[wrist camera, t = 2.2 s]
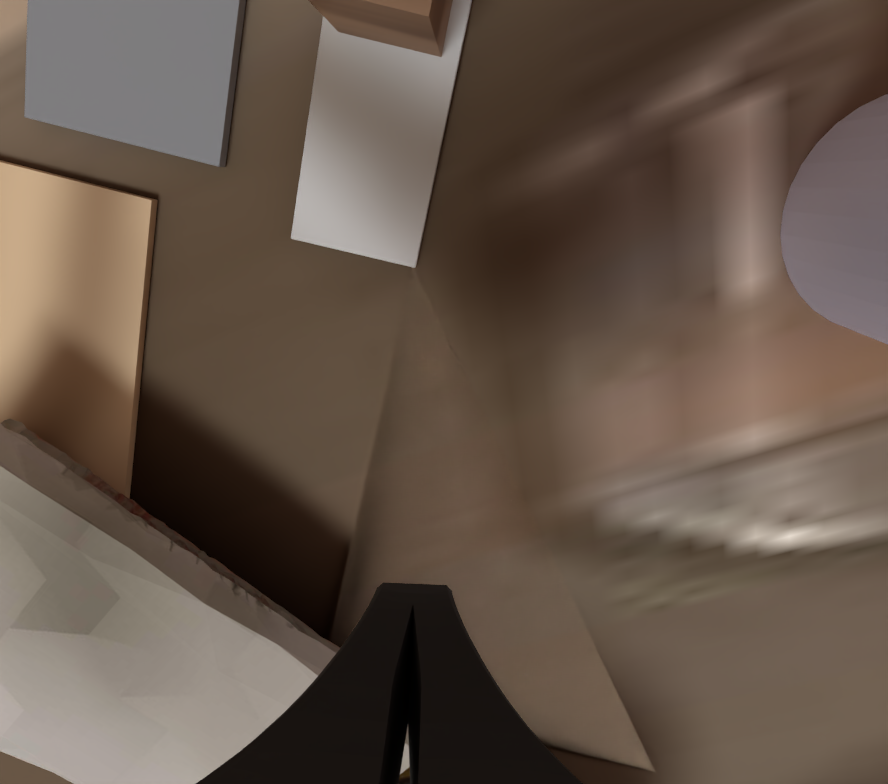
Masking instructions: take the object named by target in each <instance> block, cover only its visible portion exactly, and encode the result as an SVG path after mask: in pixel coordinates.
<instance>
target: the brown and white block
mask: <svg viewBox="0 0 888 784" xmlns="http://www.w3.org/2000/svg"><path fill="white" fill-rule="evenodd" d="M309 1H310V2H311V4H312V5H313V6H314V7H315V8H316V9H317V10H318V11H319V12H320V13H321V14H322V15H323V21H322V28H321V35H320V42H319V49H318V56H317V63H316V69H315V76H314V83H313V90H312V97H311V104H310V110H309V117H308V124H307V131H306V138H305V145H304V151H303V158H302V165H301V172H300V179H299V186H298V193H297V199H296V206H295V213H294V220H293V227H292V234H291V239H295V240H299V241H304V242H308V243H312V244H316V245H320V246H325V247H329V248H333V249H337V250H342V251H346V252H350V253H354V254H359V255H363V256H367V257H371V258H376V259H380V260H384V261H388V262H392V263H397V264H401V265H405V266H409V267H414V268H415V267H416V265H417V260H418V255H419V251H420V246H421V241H422V236H423V232H424V227H425V222H426V217H427V213H428V208H429V203H430V198H431V194H432V189H433V184H434V179H435V175H436V170H437V165H438V160H439V156H440V151H441V146H442V141H443V137H444V132H445V127H446V123H447V118H448V113H449V108H450V104H451V99H452V94H453V89H454V85H455V80H456V75H457V70H458V66H459V61H460V56H461V51H462V47H463V42H464V37H465V32H466V28H467V23H468V18H469V13H470V9H471V4H472V0H309Z"/></svg>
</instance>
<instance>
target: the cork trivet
mask: <svg viewBox="0 0 888 784" xmlns="http://www.w3.org/2000/svg"><path fill="white" fill-rule="evenodd" d="M157 202H158V200H156V199H152V198H148V197H144V196H140V195H136V194H132V193H128V192H124V191H120V190H116V189H113V188H109V187H105V186H101V185H97V184H93V183H89V182H85V181H81V180H77V179H73V178H69V177H65V176H61V175H57V174H53V173H49V172H45V171H41V170H37V169H33V168H29V167H25V166H21V165H17V164H14V163H10V162H6V161H2V160H0V423H1V422H3V421H4V420H7V419H13V420H16V421H19V422H22V423H23V424H24V425H25V427H26V428H27V429H28V430H30V431H32V432H34V433H36V434H37V435H38V436H39V437H40V438H41V439H43V440H44V441H46V442H48V443H49V444H51V445H53V446H54V447H56V448H57V449H59V450H60V451H62V452H64V453H66V454H67V455H68V456H70V457H71V458H72V459H73V460H75V461H76V462H77V463H79V464H80V465H82V466H83V467H86V468H89V469H90V470H91V471H92V473H93V474H94V475H97V476H98V477H100V478H101V479H102V480H103V481H105V482H106V483H107V484H108V485H110V486H111V487H112V488H114V489H115V490H116V491H117V492H119V493H122V494H123V495H125V496H126V497H127V498H129V499H130V489H131V479H132V468H133V458H134V447H135V436H136V426H137V415H138V404H139V394H140V383H141V372H142V362H143V351H144V340H145V330H146V319H147V308H148V298H149V287H150V277H151V266H152V255H153V245H154V234H155V223H156V213H157Z"/></svg>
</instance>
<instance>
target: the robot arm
mask: <svg viewBox="0 0 888 784" xmlns="http://www.w3.org/2000/svg"><path fill="white" fill-rule="evenodd" d="M781 245H782V256H783V260H784V263H785V266H786V269H787V273H788V276H789V278H790V280H791V281H792V283H793V285H794V287H795V288H796V290H797V292H798V294H799V295H800V296H801V297H802V298H803V299H804V300H805V302H806V303H807V304H808V305H809V306H810V307H811V308H812V309H813V310H814V311H816V312H817V313H819V314H820V315H822V316H823V317H825V318H826V319H828V320H829V321H831V322H833V323H836V324H838V325H841V326H843V327H846V328H848V329H851V330H853V331H856V332H858V333H861V334H863V335H866V336H868V337H871V338H873V339H876V340H878V341H881V342H883V343H886V344H888V94H886V95H883V96H881V97H879V98H877V99H875V100H873V101H871V102H869V103H867V104H865V105H863V106H860V107H859V108H857V109H856V110H854V111H853V112H852V113H850V114H849V115H847V116H846V117H845V118H843V119H842V120H840V121H839V122H838V123H836V124H835V125H834V126H833V127H832V128H831V129H830V130H829V131H828V132H827V133H826V134H825V135H824V136H823V137H822V138H821V139H820V140H819V141H818V142H817V144H816V145H815V146H814V148H813V149H812V150H811V152H810V153H809V154H808V156H807V157H806V159H805V160H804V161H803V163H802V164H801V166H800V168H799V170H798V172H797V174H796V176H795V178H794V180H793V182H792V184H791V186H790V189H789V192H788V196H787V199H786V202H785V206H784V209H783V215H782V225H781ZM407 727H408V738H409V765H410V784H583V783H581V782H580V781H579V780H578V779H577V778H576V777H575V776H574V775H573V774H572V773H571V772H570V771H569V770H568V769H567V768H566V767H565V766H564V765H563V764H562V763H561V762H560V761H559V760H558V759H557V758H556V757H555V756H554V755H553V754H552V753H551V752H550V751H549V750H548V749H547V748H546V747H545V746H544V744H543V743H542V742H541V741H540V740H539V739H538V737H537V736H536V735H535V734H534V733H533V732H532V730H531V729H530V728H529V727H528V726H527V724H526V723H525V722H524V721H523V719H522V718H521V717H520V716H519V714H518V713H517V712H516V710H515V709H514V708H513V706H512V705H511V704H510V702H509V701H508V700H507V698H506V697H505V695H504V694H503V692H502V691H501V689H500V688H499V686H498V685H497V683H496V682H495V680H494V679H493V677H492V676H491V674H490V672H489V671H488V669H487V667H486V666H485V664H484V662H483V661H482V659H481V657H480V655H479V653H478V652H477V650H476V648H475V646H474V644H473V642H472V640H471V639H470V637H469V635H468V633H467V631H466V628H465V626H464V624H463V622H462V620H461V617H460V615H459V612H458V610H457V607H456V605H455V602H454V598H453V595H452V591H451V590H450V589H449V588H448V586H447V585H429V584H405V583H382V584H381V585H380V586H379V587H377V590H376V592H375V594H374V596H373V598H372V600H371V602H370V604H369V606H368V607H367V609H366V611H365V612H364V614H363V616H362V617H361V619H360V620H359V622H358V624H357V625H356V627H355V628H354V629H353V631H352V632H351V634H350V635H349V637H348V638H347V640H346V641H345V642H344V644H343V645H342V647H341V648H340V649H339V651H338V652H337V653H336V655H335V656H334V657H333V658H332V659H331V661H330V662H329V663H328V664H327V666H326V667H325V668H324V669H323V671H322V672H321V673H320V674H319V676H318V677H317V678H316V679H315V680H314V681H313V683H312V684H311V685H310V686H309V687H308V688H307V689H306V690H305V691H304V692H303V694H302V695H301V696H300V697H299V698H298V699H297V700H296V701H295V702H294V703H293V704H292V705H291V706H290V707H289V708H288V709H287V710H286V711H285V712H284V713H283V714H282V715H281V716H280V717H279V718H278V719H276V720H275V721H274V722H273V723H272V724H271V725H270V726H269V727H268V728H266V729H265V730H264V731H263V732H262V733H261V734H260V735H259V736H258V737H257V738H255V739H254V740H253V741H252V742H251V743H249V744H248V745H247V746H246V747H245V748H243V749H242V750H241V751H240V752H238V753H237V754H236V755H234V756H233V757H232V758H230V759H229V760H228V761H226V762H225V763H224V764H222V765H221V766H220V767H218V768H217V769H215V770H214V771H213V772H211V773H210V774H209V775H207V776H206V777H205V778H203V779H202V780H200V781H199V782H197V783H196V784H399V778H400V771H401V765H402V759H403V752H404V746H405V740H406V733H407Z"/></svg>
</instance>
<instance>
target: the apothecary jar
mask: <svg viewBox="0 0 888 784" xmlns="http://www.w3.org/2000/svg"><path fill="white" fill-rule="evenodd" d="M399 784H410V767H409V768H407V769H406V770H405V771H404V772H403V773H401V774H400V778H399Z"/></svg>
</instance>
